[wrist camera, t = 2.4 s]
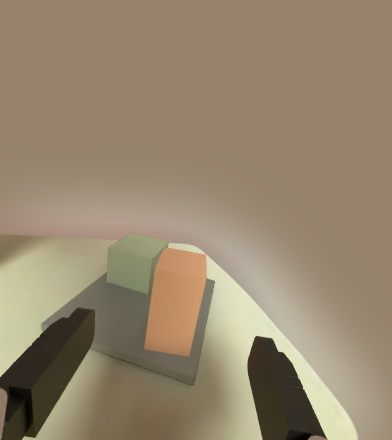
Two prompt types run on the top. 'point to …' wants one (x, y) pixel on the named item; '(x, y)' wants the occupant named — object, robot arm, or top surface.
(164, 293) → the top brick
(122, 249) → the bottom brick
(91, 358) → the top surface
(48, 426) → the top surface
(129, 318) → the baseplate
